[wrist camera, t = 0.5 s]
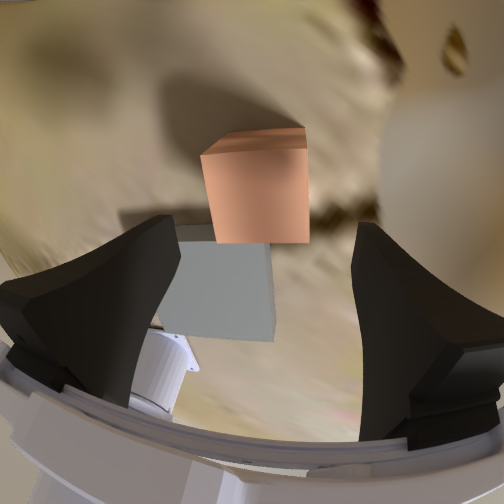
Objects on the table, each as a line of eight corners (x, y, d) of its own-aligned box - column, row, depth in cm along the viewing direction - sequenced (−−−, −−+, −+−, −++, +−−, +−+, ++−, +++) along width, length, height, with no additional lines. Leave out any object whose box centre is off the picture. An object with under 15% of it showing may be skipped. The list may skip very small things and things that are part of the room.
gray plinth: (173, 315, 29) (165, 333, 27) (140, 227, 23) (127, 242, 21) (276, 322, 27) (273, 341, 25) (267, 222, 21) (263, 240, 19)
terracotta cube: (238, 198, 20) (217, 243, 15) (229, 132, 18) (200, 155, 13) (307, 197, 19) (309, 242, 15) (304, 127, 17) (307, 148, 12)
